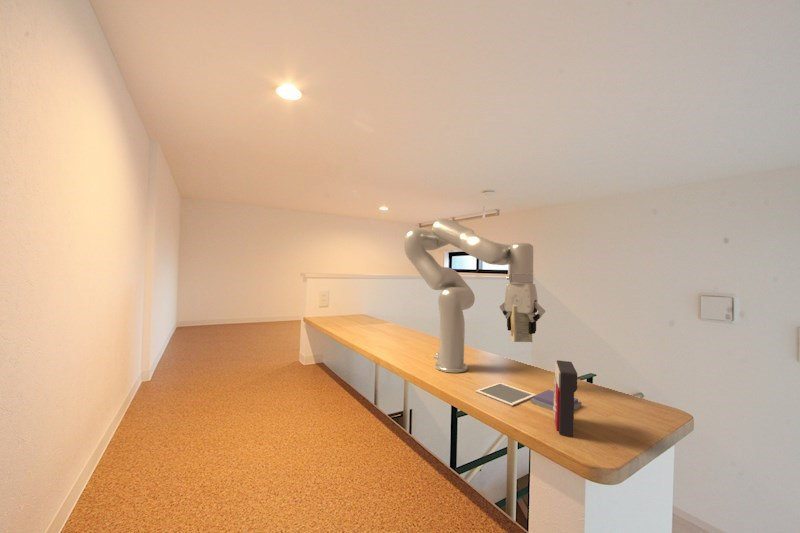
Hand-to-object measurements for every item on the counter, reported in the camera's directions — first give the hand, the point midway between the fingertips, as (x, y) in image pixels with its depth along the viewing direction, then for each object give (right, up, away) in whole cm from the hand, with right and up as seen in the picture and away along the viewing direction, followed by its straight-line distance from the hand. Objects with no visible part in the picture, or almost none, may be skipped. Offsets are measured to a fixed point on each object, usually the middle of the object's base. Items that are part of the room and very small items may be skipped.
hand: (521, 331), depth 110 cm
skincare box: (0, -3, 0) cm, 3 cm away
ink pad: (+4, -18, -16) cm, 24 cm away
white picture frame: (-8, -18, -9) cm, 22 cm away
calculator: (0, -18, -29) cm, 34 cm away
